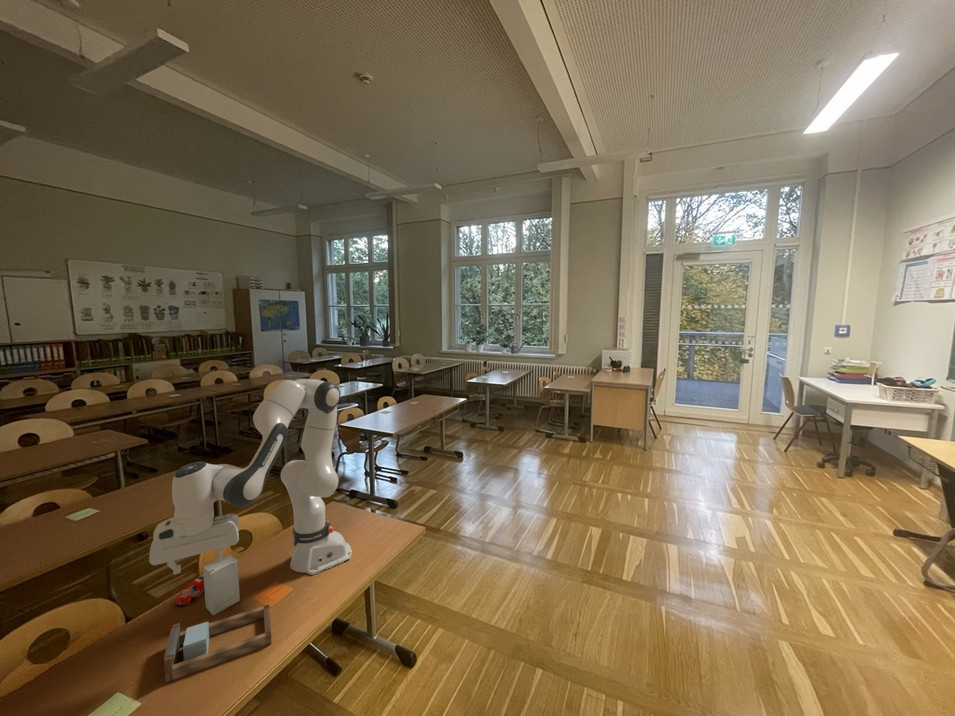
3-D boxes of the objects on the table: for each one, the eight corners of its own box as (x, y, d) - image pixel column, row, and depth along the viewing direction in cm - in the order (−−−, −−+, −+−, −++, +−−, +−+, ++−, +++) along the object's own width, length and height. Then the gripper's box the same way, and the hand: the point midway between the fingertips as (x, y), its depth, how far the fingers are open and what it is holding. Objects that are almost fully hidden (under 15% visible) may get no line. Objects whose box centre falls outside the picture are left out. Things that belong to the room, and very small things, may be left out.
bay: (269, 613, 121) (268, 595, 121) (271, 644, 110) (270, 624, 109) (173, 644, 109) (172, 625, 108) (164, 683, 97) (162, 661, 97)
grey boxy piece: (209, 639, 111) (208, 620, 110) (206, 659, 104) (206, 639, 104) (187, 646, 108) (187, 627, 108) (184, 667, 102) (183, 647, 101)
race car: (187, 608, 122) (186, 597, 122) (171, 607, 123) (170, 595, 123) (218, 581, 136) (218, 570, 135) (204, 579, 136) (204, 569, 136)
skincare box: (232, 594, 129) (231, 552, 128) (240, 601, 126) (239, 559, 124) (203, 608, 122) (202, 565, 121) (211, 617, 119) (209, 572, 117)
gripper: (238, 507, 114) (241, 549, 116) (150, 525, 104) (154, 572, 105) (238, 516, 109) (241, 561, 111) (145, 537, 98) (149, 586, 100)
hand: (198, 567), depth 108 cm, fingers open, 8 cm apart
